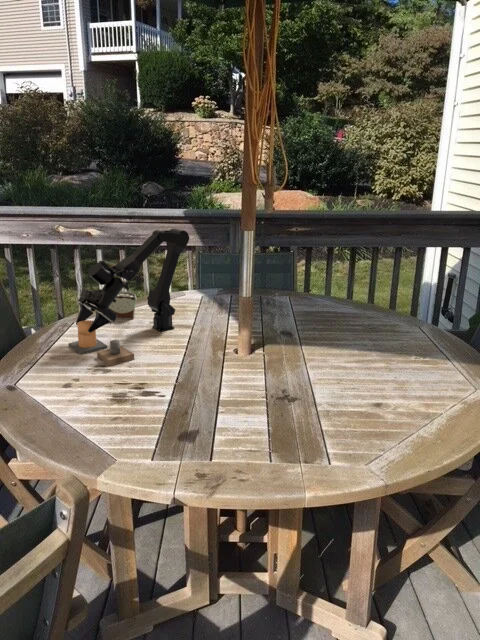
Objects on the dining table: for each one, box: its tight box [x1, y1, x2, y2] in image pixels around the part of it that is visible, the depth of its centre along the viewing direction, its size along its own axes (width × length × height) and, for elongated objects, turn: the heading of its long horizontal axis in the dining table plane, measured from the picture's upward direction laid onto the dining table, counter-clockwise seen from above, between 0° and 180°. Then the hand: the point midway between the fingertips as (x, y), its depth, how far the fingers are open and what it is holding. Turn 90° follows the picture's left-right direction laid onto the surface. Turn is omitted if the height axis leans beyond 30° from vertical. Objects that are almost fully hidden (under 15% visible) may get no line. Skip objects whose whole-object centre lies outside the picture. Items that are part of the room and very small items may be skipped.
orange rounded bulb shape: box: [76, 319, 97, 348], centre depth 188 cm, size 6×6×8 cm
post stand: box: [96, 339, 135, 366], centre depth 180 cm, size 9×9×6 cm
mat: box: [67, 338, 108, 355], centre depth 190 cm, size 10×10×1 cm
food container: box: [109, 290, 138, 320], centre depth 221 cm, size 12×6×10 cm, turn 84°
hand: (82, 328), depth 187 cm, fingers open, 9 cm apart
